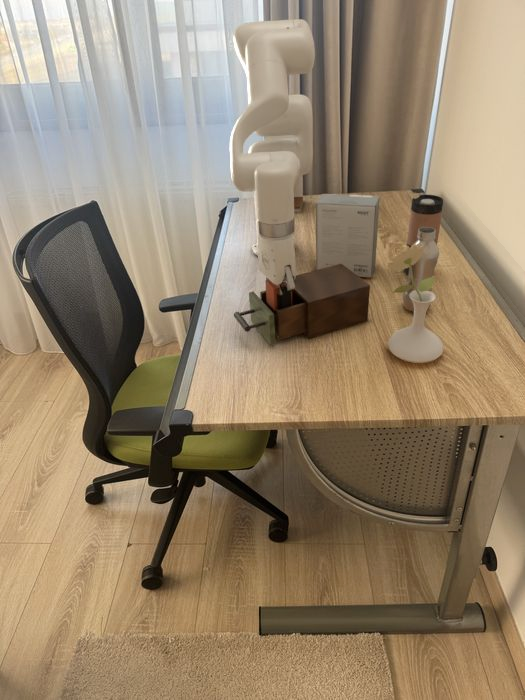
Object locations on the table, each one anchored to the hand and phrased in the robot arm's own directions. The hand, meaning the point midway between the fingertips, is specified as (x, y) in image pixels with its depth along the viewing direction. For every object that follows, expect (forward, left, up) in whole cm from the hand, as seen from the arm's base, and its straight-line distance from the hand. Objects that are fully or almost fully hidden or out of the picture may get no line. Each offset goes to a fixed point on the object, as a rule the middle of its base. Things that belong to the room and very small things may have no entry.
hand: (279, 302), depth 115 cm
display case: (-72, +36, -8) cm, 81 cm away
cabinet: (0, +12, -7) cm, 14 cm away
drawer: (0, 0, -7) cm, 7 cm away
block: (0, 0, 0) cm, 0 cm away
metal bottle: (+7, +33, -8) cm, 34 cm away
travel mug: (-8, +45, -8) cm, 46 cm away
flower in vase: (+21, +21, -8) cm, 31 cm away
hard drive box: (-19, +29, -8) cm, 35 cm away
